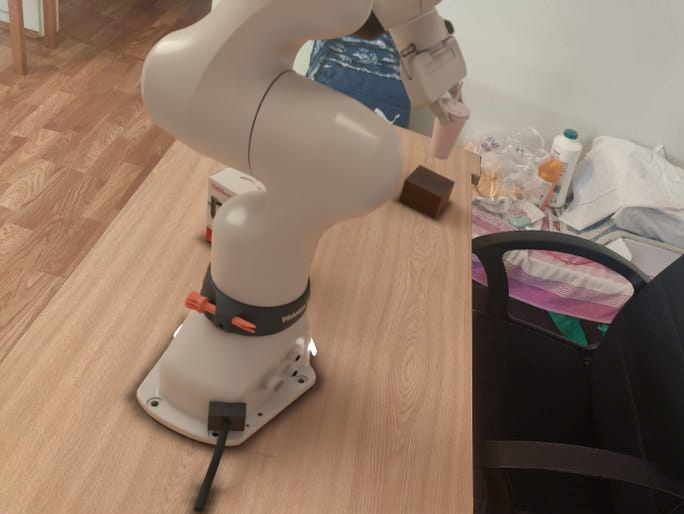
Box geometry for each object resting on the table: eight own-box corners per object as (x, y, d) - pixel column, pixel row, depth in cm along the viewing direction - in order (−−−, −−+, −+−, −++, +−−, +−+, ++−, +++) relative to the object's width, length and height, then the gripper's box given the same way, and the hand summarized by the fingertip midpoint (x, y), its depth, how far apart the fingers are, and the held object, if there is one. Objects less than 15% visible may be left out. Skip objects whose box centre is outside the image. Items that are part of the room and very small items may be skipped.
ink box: (203, 239, 94) (205, 174, 86) (225, 227, 97) (229, 163, 89) (249, 267, 93) (255, 203, 85) (270, 254, 97) (277, 192, 89)
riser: (434, 219, 120) (441, 197, 116) (398, 201, 120) (404, 179, 116) (447, 202, 126) (455, 182, 122) (413, 185, 125) (419, 164, 122)
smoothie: (456, 152, 118) (480, 83, 109) (452, 167, 113) (476, 96, 104) (425, 141, 117) (446, 70, 107) (420, 155, 112) (441, 82, 103)
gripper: (412, 44, 94) (450, 129, 101) (455, 20, 109) (485, 95, 116) (381, 60, 97) (419, 141, 104) (426, 34, 112) (457, 107, 119)
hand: (454, 117), depth 110 cm, fingers closed on smoothie, 6 cm apart
